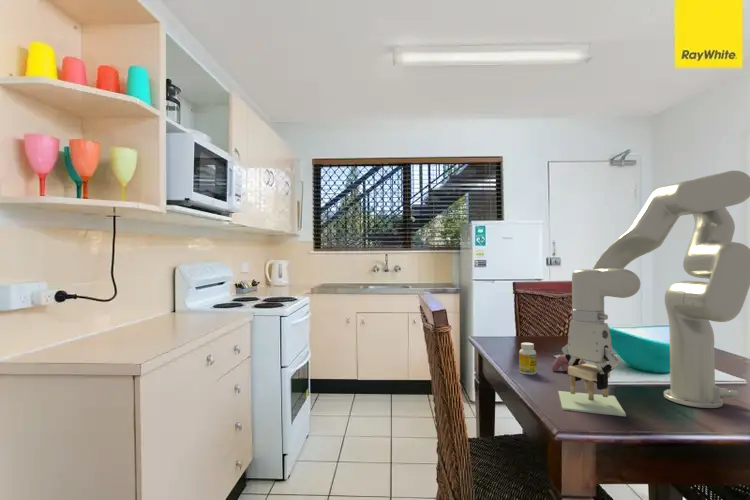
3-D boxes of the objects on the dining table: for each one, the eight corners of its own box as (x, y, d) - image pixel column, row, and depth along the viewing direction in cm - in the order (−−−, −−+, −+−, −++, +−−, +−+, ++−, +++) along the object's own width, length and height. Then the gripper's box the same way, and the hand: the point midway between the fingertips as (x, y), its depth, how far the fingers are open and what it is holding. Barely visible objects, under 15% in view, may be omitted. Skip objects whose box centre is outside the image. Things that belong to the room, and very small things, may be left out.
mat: (614, 397, 115) (614, 396, 115) (626, 416, 102) (625, 414, 102) (558, 392, 120) (558, 390, 120) (562, 409, 106) (562, 407, 106)
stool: (586, 389, 115) (586, 363, 115) (610, 396, 109) (609, 369, 109) (568, 393, 112) (567, 366, 112) (591, 401, 106) (591, 373, 106)
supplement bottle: (524, 369, 144) (523, 341, 144) (539, 372, 140) (539, 343, 140) (516, 372, 140) (516, 343, 140) (531, 375, 136) (531, 346, 136)
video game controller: (585, 380, 136) (589, 359, 138) (578, 376, 134) (583, 355, 136) (556, 373, 144) (561, 354, 146) (549, 369, 142) (554, 349, 144)
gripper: (629, 320, 105) (630, 392, 104) (570, 311, 120) (570, 374, 120) (609, 322, 101) (610, 396, 101) (551, 313, 117) (551, 377, 117)
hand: (588, 384), depth 111 cm, fingers closed on stool, 7 cm apart
